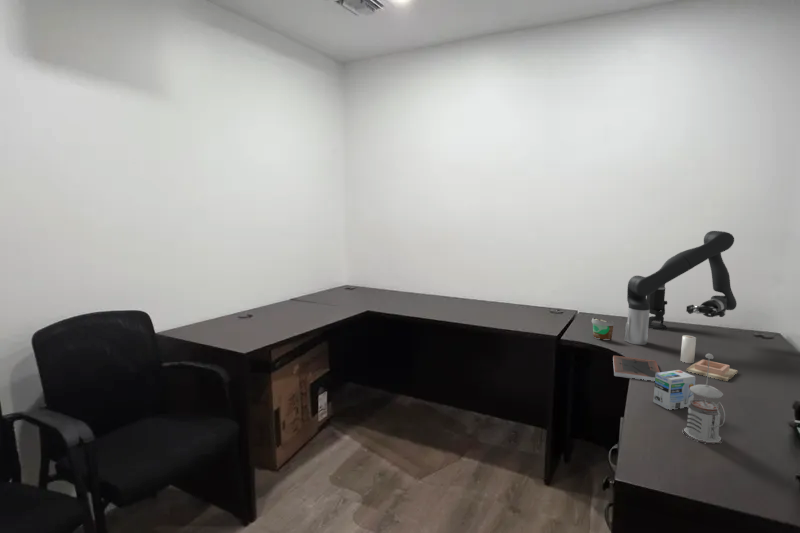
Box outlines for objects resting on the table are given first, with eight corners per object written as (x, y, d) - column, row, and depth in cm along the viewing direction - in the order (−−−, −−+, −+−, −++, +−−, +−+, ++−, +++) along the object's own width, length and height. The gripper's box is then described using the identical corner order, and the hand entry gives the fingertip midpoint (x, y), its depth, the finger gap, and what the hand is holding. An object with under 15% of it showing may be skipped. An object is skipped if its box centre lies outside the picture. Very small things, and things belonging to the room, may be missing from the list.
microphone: (661, 324, 254) (665, 272, 250) (671, 330, 242) (676, 276, 238) (637, 323, 256) (641, 272, 252) (647, 329, 244) (651, 275, 240)
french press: (706, 427, 135) (713, 348, 132) (736, 447, 124) (745, 361, 120) (674, 427, 135) (681, 348, 132) (701, 448, 123) (710, 362, 120)
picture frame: (661, 384, 170) (655, 365, 189) (662, 377, 169) (656, 360, 189) (614, 377, 176) (612, 360, 196) (614, 371, 176) (613, 354, 196)
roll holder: (686, 371, 181) (686, 363, 180) (697, 363, 190) (698, 356, 189) (727, 381, 170) (727, 373, 170) (737, 373, 179) (738, 365, 179)
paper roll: (678, 361, 193) (680, 336, 192) (682, 358, 196) (684, 334, 195) (691, 364, 189) (693, 339, 188) (695, 361, 193) (697, 337, 191)
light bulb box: (668, 410, 146) (671, 379, 145) (652, 402, 152) (654, 372, 151) (693, 406, 149) (696, 376, 148) (676, 398, 155) (679, 369, 154)
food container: (585, 336, 231) (586, 317, 230) (593, 334, 233) (594, 316, 232) (605, 342, 220) (606, 323, 218) (613, 341, 222) (614, 321, 221)
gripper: (695, 297, 213) (683, 302, 203) (731, 302, 202) (720, 307, 192) (694, 312, 214) (681, 318, 204) (729, 318, 203) (718, 324, 193)
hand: (700, 313), depth 198 cm, fingers open, 8 cm apart
